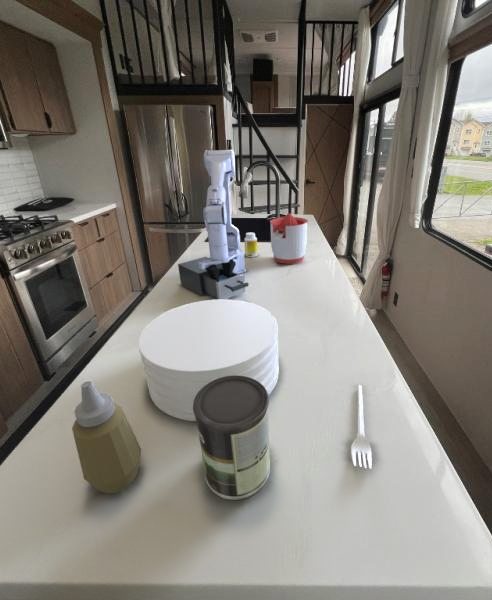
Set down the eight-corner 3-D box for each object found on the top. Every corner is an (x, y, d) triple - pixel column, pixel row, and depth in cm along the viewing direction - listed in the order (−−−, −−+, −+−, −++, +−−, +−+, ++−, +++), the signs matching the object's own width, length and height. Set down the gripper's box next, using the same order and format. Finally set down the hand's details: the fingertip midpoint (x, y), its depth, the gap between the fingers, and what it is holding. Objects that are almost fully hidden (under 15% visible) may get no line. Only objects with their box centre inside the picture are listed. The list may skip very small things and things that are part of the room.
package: (223, 284, 111) (222, 274, 110) (231, 288, 108) (231, 278, 106) (213, 287, 109) (212, 277, 107) (222, 291, 105) (221, 281, 104)
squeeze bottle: (156, 461, 52) (133, 371, 44) (120, 509, 45) (84, 413, 37) (116, 447, 54) (87, 360, 47) (76, 492, 48) (34, 398, 40)
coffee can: (201, 504, 46) (187, 432, 39) (208, 443, 55) (197, 377, 49) (274, 497, 46) (271, 425, 40) (268, 438, 55) (265, 372, 49)
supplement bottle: (260, 255, 146) (259, 233, 142) (250, 258, 143) (248, 235, 139) (252, 253, 150) (251, 231, 146) (243, 255, 147) (241, 233, 143)
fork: (368, 388, 66) (369, 381, 65) (372, 478, 48) (374, 469, 48) (351, 386, 67) (352, 379, 66) (350, 473, 49) (351, 465, 48)
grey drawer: (254, 296, 105) (253, 278, 103) (228, 306, 99) (227, 287, 96) (223, 282, 117) (221, 265, 114) (198, 290, 110) (196, 273, 108)
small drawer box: (229, 286, 116) (227, 264, 112) (201, 296, 109) (198, 273, 105) (208, 276, 125) (205, 256, 121) (181, 285, 118) (177, 264, 114)
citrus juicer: (261, 263, 137) (259, 215, 128) (283, 252, 150) (283, 208, 141) (292, 270, 129) (293, 219, 120) (313, 258, 142) (315, 211, 133)
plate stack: (184, 334, 87) (178, 295, 82) (287, 344, 81) (287, 303, 76) (120, 410, 62) (106, 361, 57) (262, 432, 57) (259, 380, 52)
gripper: (205, 252, 95) (210, 294, 101) (244, 241, 104) (246, 281, 110) (192, 247, 99) (198, 287, 105) (230, 238, 108) (233, 275, 114)
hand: (222, 284), depth 108 cm, fingers closed on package, 4 cm apart
